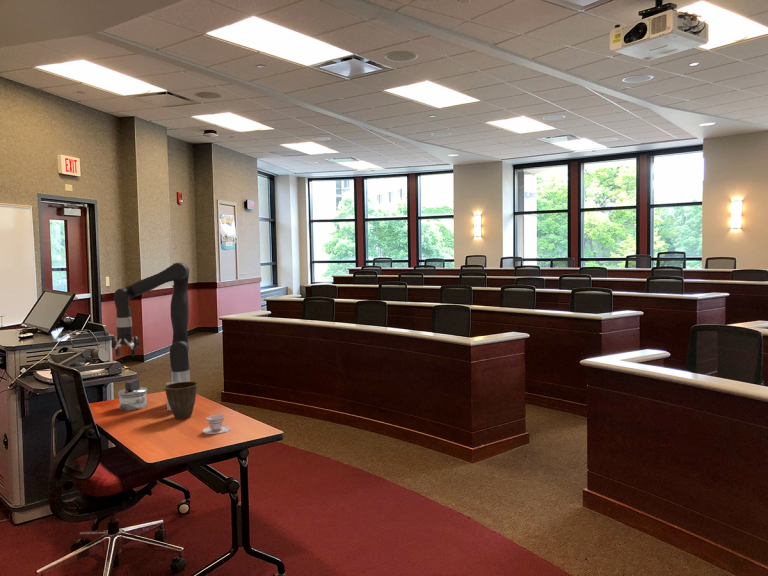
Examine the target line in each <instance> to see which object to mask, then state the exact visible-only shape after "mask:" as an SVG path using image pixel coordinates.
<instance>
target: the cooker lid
mask: <svg viewBox="0 0 768 576" xmlns="http://www.w3.org/2000/svg"><path fill="white" fill-rule="evenodd" d="M124 386H125V388H124V389H119V391H118V393H117V396H119V395H120V396H133V395H139V394H143V393H146V392H148V388H147V387H144V386H143V387H142V386H140V379H139V378H135V379H134V378H133V379H131V380H129V381H125V382H124ZM146 394H147V393H146Z"/></svg>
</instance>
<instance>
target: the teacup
mask: <svg viewBox="0 0 768 576" xmlns="http://www.w3.org/2000/svg"><path fill="white" fill-rule="evenodd" d="M225 418H226V417H225V415H224V414H218V413H217V414H211V415H209V416H207V417H206V421H207V422H208V424H209V426H208V427H205V428H204V429H202V433H203V434H206V435H219V434H223V433H227V432H228V431H230V430H231V426H229V425H225V424H224V425H223V421H224V419H225Z"/></svg>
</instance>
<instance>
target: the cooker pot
mask: <svg viewBox="0 0 768 576" xmlns="http://www.w3.org/2000/svg"><path fill="white" fill-rule="evenodd" d="M147 392H148V391H147ZM147 392H146V393H143V394H139V395H133V396H120V395H118V397H119V398H118V399H119V411H122V410H123V411H122V412H130V411H129V410H134V411H137V410H136V409H140V408H143V407H145V408H147V407H148V401H147V399H148V398H147ZM146 406H147V407H146ZM143 409H144V408H143ZM140 410H141V409H140Z"/></svg>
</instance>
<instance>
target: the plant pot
mask: <svg viewBox="0 0 768 576" xmlns="http://www.w3.org/2000/svg"><path fill="white" fill-rule="evenodd" d="M197 389H198V383H197V382H195V381H190V382H179V383H173V384H169V385H165V386H164V391H165V393H166V394H165V396H166V400H167V399H168V402H169V405H170V408H171V410H172V411H171V412H172V415H173V417H174V419H175V420H185V419H189V418H191V417H192V414H193V411H194V408H195V403H196V400H197V399H196V398H197V391H198V390H197Z"/></svg>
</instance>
